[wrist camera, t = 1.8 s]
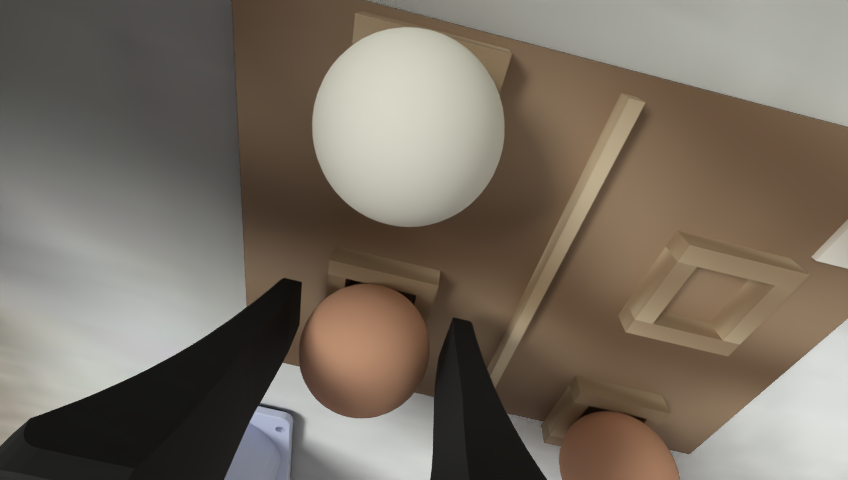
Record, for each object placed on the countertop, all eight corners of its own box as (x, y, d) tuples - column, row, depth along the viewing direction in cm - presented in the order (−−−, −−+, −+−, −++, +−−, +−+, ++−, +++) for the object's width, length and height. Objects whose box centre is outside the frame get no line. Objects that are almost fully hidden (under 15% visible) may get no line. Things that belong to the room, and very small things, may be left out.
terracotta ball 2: (623, 454, 17) (660, 566, 14) (536, 434, 17) (552, 543, 14) (674, 402, 15) (732, 520, 12) (575, 379, 15) (606, 492, 12)
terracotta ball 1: (421, 353, 15) (407, 458, 12) (319, 330, 15) (275, 429, 12) (446, 274, 13) (438, 375, 9) (327, 246, 13) (276, 339, 9)
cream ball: (472, 195, 11) (473, 284, 8) (336, 161, 11) (278, 237, 8) (521, 44, 9) (552, 77, 6) (352, 0, 9) (279, 7, 5)
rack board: (681, 448, 18) (693, 476, 17) (253, 352, 17) (240, 374, 16) (999, 166, 10) (1058, 186, 9) (238, -33, 9) (210, -35, 8)
